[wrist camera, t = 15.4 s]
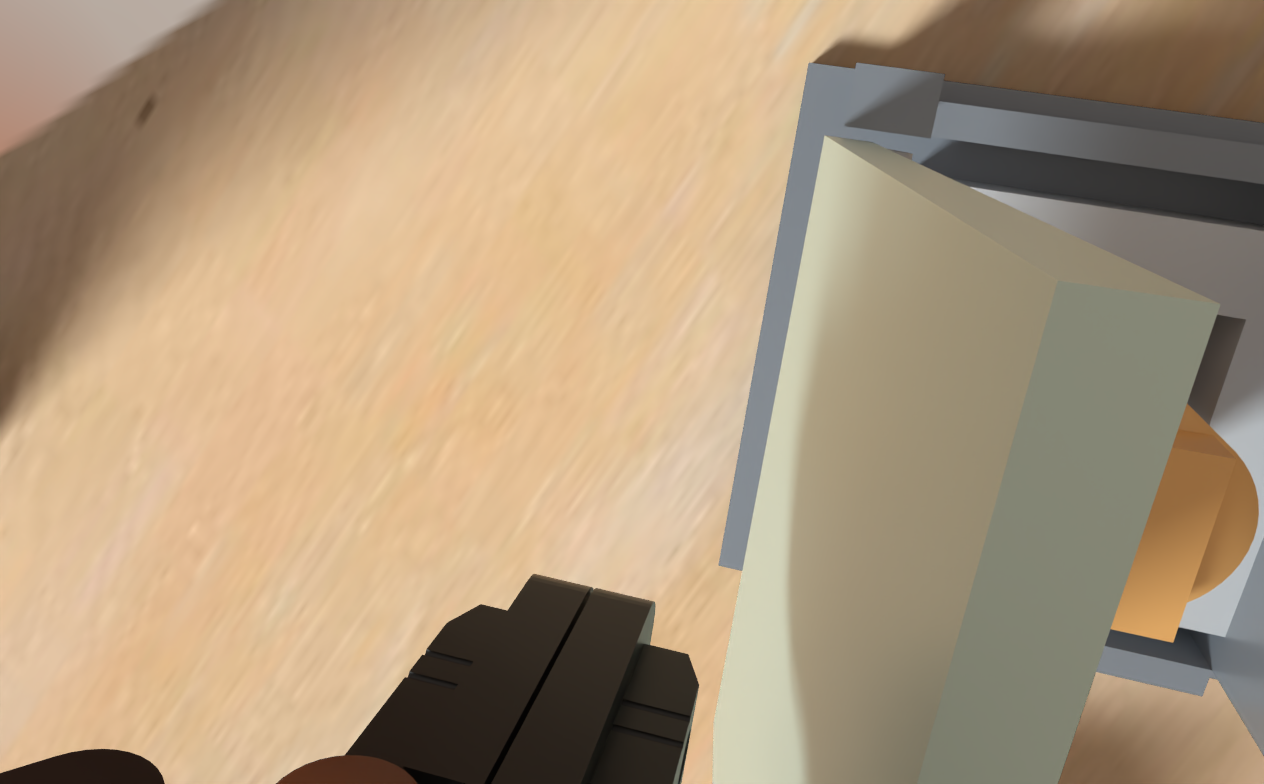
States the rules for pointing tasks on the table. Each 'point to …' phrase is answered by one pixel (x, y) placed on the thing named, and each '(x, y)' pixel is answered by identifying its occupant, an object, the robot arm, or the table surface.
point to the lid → (946, 486)
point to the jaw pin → (1189, 531)
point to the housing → (1103, 216)
